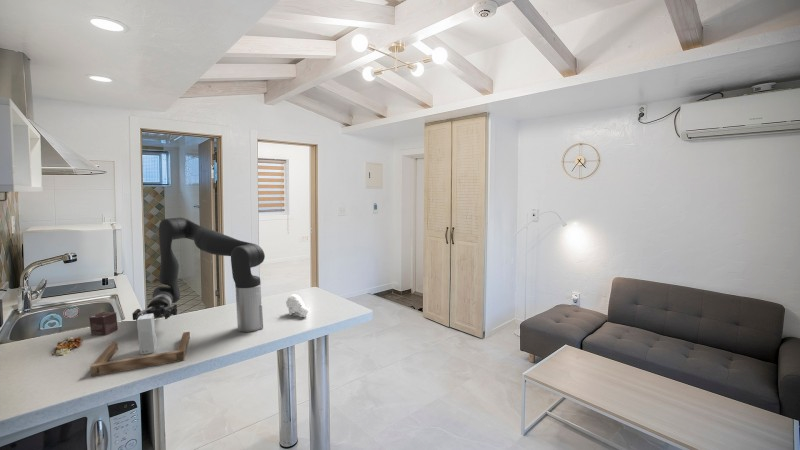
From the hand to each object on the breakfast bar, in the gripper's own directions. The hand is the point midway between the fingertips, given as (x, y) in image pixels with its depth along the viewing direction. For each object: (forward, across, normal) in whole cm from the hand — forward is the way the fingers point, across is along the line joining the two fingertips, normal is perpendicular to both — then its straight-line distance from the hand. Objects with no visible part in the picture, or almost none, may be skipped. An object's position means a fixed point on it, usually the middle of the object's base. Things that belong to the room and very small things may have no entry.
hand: (152, 318), depth 139 cm
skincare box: (+11, 0, +8) cm, 14 cm away
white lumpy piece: (-3, +53, +8) cm, 54 cm away
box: (-16, -19, +8) cm, 26 cm away
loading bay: (+15, 0, +8) cm, 17 cm away
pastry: (-3, -26, +9) cm, 28 cm away
